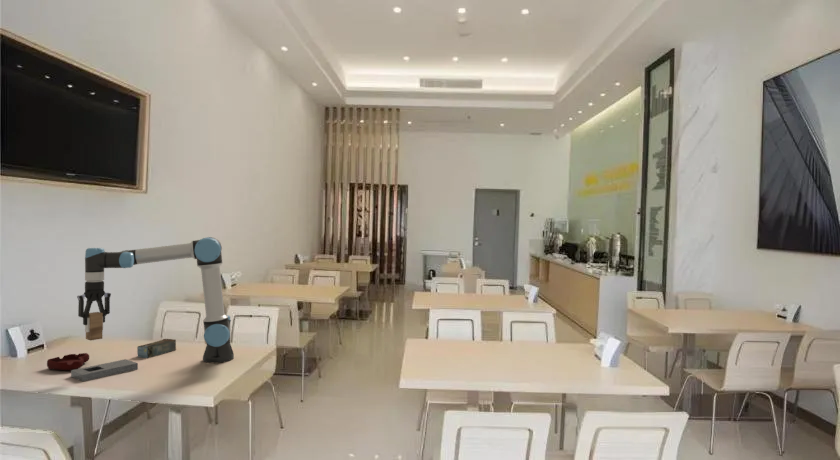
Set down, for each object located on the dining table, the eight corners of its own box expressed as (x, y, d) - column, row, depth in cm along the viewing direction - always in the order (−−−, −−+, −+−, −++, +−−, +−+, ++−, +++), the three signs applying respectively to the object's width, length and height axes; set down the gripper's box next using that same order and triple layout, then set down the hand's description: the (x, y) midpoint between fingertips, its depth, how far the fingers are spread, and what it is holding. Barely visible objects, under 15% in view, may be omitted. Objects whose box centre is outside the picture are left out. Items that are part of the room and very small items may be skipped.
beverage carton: (136, 357, 268) (136, 344, 268) (166, 349, 286) (166, 337, 286) (147, 358, 265) (147, 346, 265) (176, 350, 283) (176, 338, 283)
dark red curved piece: (53, 364, 252) (53, 354, 252) (91, 362, 258) (91, 352, 258) (40, 374, 235) (40, 364, 235) (81, 371, 241) (81, 361, 241)
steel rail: (137, 369, 245) (137, 363, 245) (82, 381, 225) (82, 374, 225) (125, 365, 251) (125, 359, 251) (71, 376, 232) (71, 370, 232)
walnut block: (102, 338, 234) (102, 313, 234) (90, 340, 230) (90, 314, 230) (97, 337, 237) (97, 311, 237) (85, 339, 233) (85, 313, 233)
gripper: (111, 278, 243) (111, 326, 243) (69, 282, 228) (68, 333, 228) (119, 280, 239) (118, 328, 239) (76, 283, 224) (75, 335, 224)
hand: (94, 330), depth 234 cm, fingers closed on walnut block, 5 cm apart
